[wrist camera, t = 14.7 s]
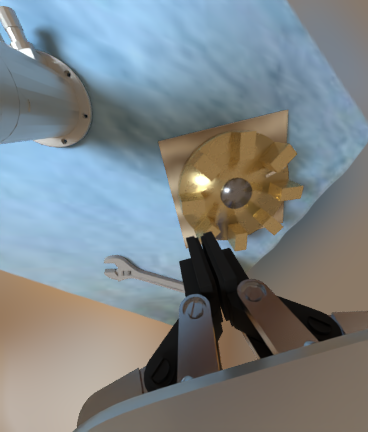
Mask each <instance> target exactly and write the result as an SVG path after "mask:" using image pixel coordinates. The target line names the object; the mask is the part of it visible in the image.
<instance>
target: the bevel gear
mask: <svg viewBox="0 0 368 432" xmlns="http://www.w3.org/2000/svg"><path fill="white" fill-rule="evenodd" d="M296 155H297V153H296V151H295V150H294V149H293V148H292V146H291V145H290V144H287V143H280V142H274V141H273V140H271V139H270V138H268V137H267V136H265V135H263V134H260V133H257V132H256V131H250V130H232V131H227V132H223V133H220V134H217V135H215V136H213V137H211V138H209V139H207V140H206V141H204V142H203V143H202V144H200V145H199V146H198V147H197V148H196V149H195V150H194V151H193V152H192V153H191V155H190V156H189V158H188V159H187V160H186V162H185V164H184V166H183V168H182V171H181V174H180V177H179V181H178V199H179V204H180V208H181V211H182V214H183V215H184V217H185V219H186V221H187V222H188V223H189V225H190V226H191V227H192V228H193V229H194V231H195V234H196V237H198V238H199V241H200V242H201V237H200V236H203V233H206V232H210V231H212V233H213V235H214V237H215V238H216V239H217V240H228V241H229V243H230V244H231V246H232V248H233V249H234V251H240V250H246V246H247V235H249V234H251V233H253V232H255V231H257V230H258V229H260V228H261V227H262V226H264V227H265V228H266V229H267V230H268V231H270V232H271V233H272V234H273V235H275V234H276V233H277V232H279V231H280V230H281V229H282V228H283V226H282V225H281V224H280V223H279V222H278V221H277V220H275V219H274V218H273V216H274V214H275V213H276V212H277V210H278V209H279V207H280V206H281V204H282V202H283V201H286V200H293V199H300V198H301V195H302V190H303V185H300V184H298V183H295V182H293V181H290V180H289V172H288V165H287V164H288V163H289V162H290V161H291V160H292V159H293V158H294V157H295V156H296ZM201 243H202V242H201Z"/></svg>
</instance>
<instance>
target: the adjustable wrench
mask: <svg viewBox="0 0 368 432" xmlns="http://www.w3.org/2000/svg"><path fill="white" fill-rule="evenodd" d="M104 263H114V264H115V265H116V266H117V267H118V269H117V270H116V269H105V272H104V274H105V275H106V276H107V277H109V278H111V279H115V280H118V281H121V280H124V279H128V278H135V279H139V280H142V281H146V282H149V283H152V284H156V285H159V286H163V287H166V288H169V289H173V290H176V291H179V292H183V293H185V290H184V285H183V282H181V281H178V280H174V279H171V278H167V277H164V276H161V275H157V274H154V273H151V272H147V271H144V270H141V269H138V268H136V267H135V266H133V265H132V264H131V263H130V262H129V261H127V260H126V259H125V258H124V257H122V256H120V255H111V256H108V257H106V258H105V260H104Z"/></svg>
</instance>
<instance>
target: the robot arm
mask: <svg viewBox="0 0 368 432" xmlns="http://www.w3.org/2000/svg"><path fill="white" fill-rule="evenodd" d="M0 21H1V23H2V25H3V27H4V29H5V31H6V32H7V33H8V35H9V37H10V39H11V41H12V43H11V44H10V45H8V44H6V43H5V41H4V40H3V38H2V36H1V34H0V144H6V143H14V142H22V141H30V140H33V141H35V142H37V143H39V144H42V145H46V146H49V147H66V146H70V145H73V144H75V143H77V142H79V141H80V140H81V139H82V138H83V137H84V136H85V135H86V134H87V132H88V130H89V128H90V125H91V121H92V107H91V102H90V98H89V95H88V93H87V91H86V89H85V86H84V85H83V83H82V82H81V80H80V79H79V77H78V76H77V75H76V74H75V73H74V72H73V71H72V69H70V68H69V67H68V66H67V65H66V64H64V63H63V62H62V61H60V60H59V59H57V58H56V57H54V56H52V55H50V54H48V53H45V52H41V51H38V50H35V49H34V47H33V45H32V43H30V42H28V41H27V39H26V37H25V35H24V32H23V28H22V26H21V24H20V22H19V20H18V18H17V15H16V13H15V11H14V10H13V9H12V8H9V7H5V6H0ZM69 73H70V74H71V76H70V77H69V76H68V74H69ZM85 115H87V116H88V118H86V117H85ZM65 139H66V140H67V143H66V142H65ZM200 237H201V242H202V246H201V244H200V241H199V238H198V237H196V238H195V237H194V236H191V237H187V238H186V241H187V244H188V248H189V252H190V256H191V258H190V259H186V260H182V261H179V263H180V268H181V274H182V279H183V285H184V290H185V296H186V298H185V299H184V300H183V301H182V302H181V304H180V308H179V319H178V320H177V322H176V323H175V324H174V326H173V327H172V329H171V330H170V332H169V333H168V335H167V336H166V337H165V339H164V340H163V341H162V343H161V344H160V346H159V347H158V349H157V350H156V351H155V353H154V354H153V356H152V357H151V359H150V360H149V362H148V364H147V365H146V366H145V367H143V368H142V369H140V370H139V368H137V369H135V370H134V371H132V372H130V373H129V374H127V375H125V376H123V377H122V378H120V379H118V380H116V381H114V382H113V383H111V384H109V385H108V386H106V387H104V388H102V389H101V390H99V391H97V392H95V393H94V394H93V395H92V396H90V397H89V398H88V400H87V401H86V402H85V404H84V405H83V407H82V409H81V411H80V413H79V418H78V422H77V428H76V429H75V430H74V431H73V432H368V311H356V312H333V313H332V315H327V314H324V313H322V312H320V311H317V310H315V309H312V308H309V307H307V306H304V305H301V304H298V303H296V302H293V301H290V300H287V299H284V298H282V297H279V296H276V295H275V294H274V293H273V292H272V291H271V289H270V288H269V287H268V286H267V285H266V284H264V283H263V282H261V281H259V280H256V279H249V278H248V277H247V275H246V273H245V272H244V270H243V268H242V267H241V265H240V264H239V262H238V260H237V259H236V257H235V255H234V254H233V252H232V251H231V249H230V248H227V249H223V250H221V248H220V246H219V244H218V242H217V240H216V238H215V237H214V235H213V233H212V231H210V232H206V233H203V236H200ZM202 247H203V249H202ZM220 306H221V308H220ZM221 309H222V312H223V314H224V317H225V319H226V321H228V320H230V323H231V325H232V326H234V327H235V328H236V329H238V330H240V331H241V332H242V333H243V336H244V337H245V339H246V341H247V343H248V345H249V346H250V348H251V350H252V351H253V353H254V355H255V356H256V358H257V360H255V361H252V362H248V363H245V364H242V365H238V366H235V367H231V368H228V369H225V370H223V369H222V363H221V356H220V350H219V343H218V340H219V338H220V336H221V334H222V332H223V330H222V325H221V322H223V318H222V313H221Z"/></svg>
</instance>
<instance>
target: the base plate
mask: <svg viewBox="0 0 368 432" xmlns="http://www.w3.org/2000/svg"><path fill="white" fill-rule="evenodd" d="M287 123H288V110H283V111H279V112H275V113H271V114H266V115H262V116H258V117H254V118H250V119H246V120H242V121H238V122H234V123H230V124H226V125H222V126H218V127H214V128H210V129H206V130H202V131H198V132H194V133H190V134H186V135H181V136H177V137H173V138H169V139H165V140H161V141H158V143H159V147H160V151H161V155H162V158H163V162H164V166H165V170H166V174H167V178H168V181H169V185H170V189H171V193H172V197H173V200H174V204H175V208H176V212H177V216H178V219H179V223H180V227H181V231H182V235H183V238H184V242H185V246H186V248H188V244H187V241H186V238H187V237H191V236H194V237H195V238H196V234H195V231H194V229H193V228H192V227H191V226H190V225H189V223H188V222H187V221H186V219H185V217H184V215H183V214H182V211H181V208H180V204H179V199H178V181H179V177H180V174H181V171H182V168H183V166H184V164H185V162H186V160H187V159H188V158H189V156H190V155H191V153H192V152H193V151H194V150H195V149H196V148H197V147H198V146H199V145H200V144H202V143H203V142H204V141H206V140H207V139H209V138H211V137H213V136H215V135H217V134H220V133H223V132H227V131H232V130H250V131H256V132H257V133H260V134H263V135H265V136H267V137H268V138H270V139H271V140H273V141H274V142H280V143H287ZM283 207H284V201H283V202H282V204H281V206H280V207H279V209H278V210H277V212H276V213H275V214H274V216H273V218H274V219H275V220H277V221H278V222H279V223H283ZM261 228H265V227H264V226H262V227H261ZM261 228H260V229H261ZM216 240H217V239H216ZM200 244H202V243H201V242H200Z"/></svg>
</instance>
